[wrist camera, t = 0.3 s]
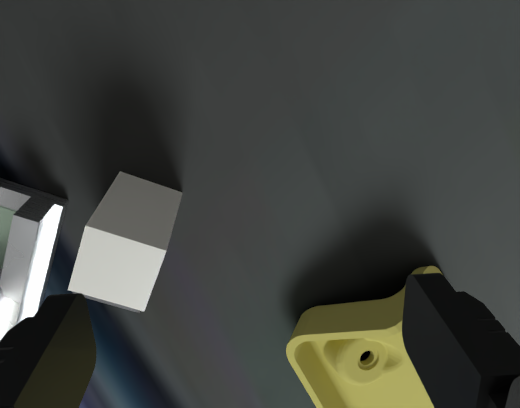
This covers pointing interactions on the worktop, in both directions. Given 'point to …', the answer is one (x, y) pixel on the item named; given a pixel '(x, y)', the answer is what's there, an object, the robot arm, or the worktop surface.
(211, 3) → the worktop surface
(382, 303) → the plastic component
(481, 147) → the worktop surface
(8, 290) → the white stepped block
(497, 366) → the robot arm
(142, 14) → the worktop surface
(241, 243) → the worktop surface
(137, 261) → the block
